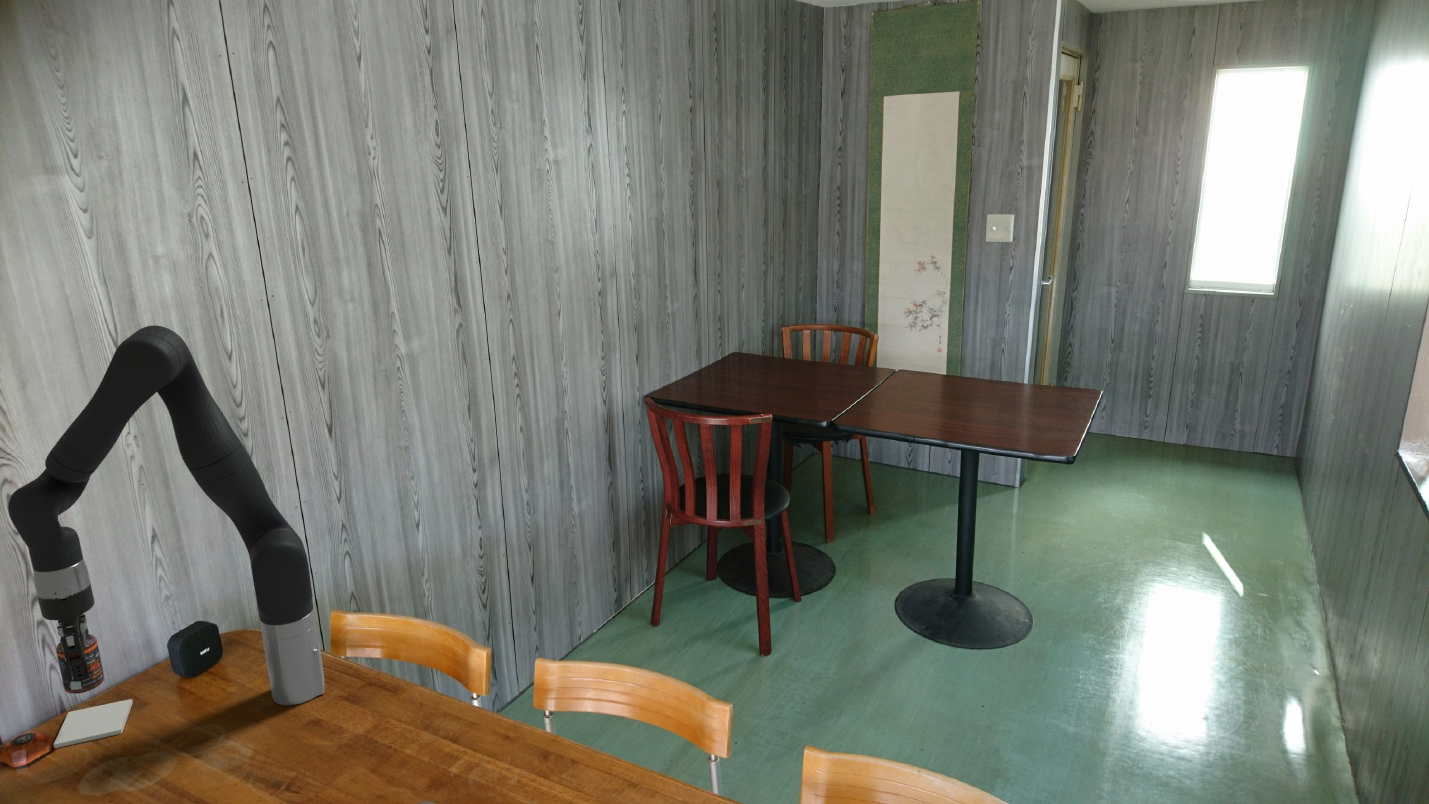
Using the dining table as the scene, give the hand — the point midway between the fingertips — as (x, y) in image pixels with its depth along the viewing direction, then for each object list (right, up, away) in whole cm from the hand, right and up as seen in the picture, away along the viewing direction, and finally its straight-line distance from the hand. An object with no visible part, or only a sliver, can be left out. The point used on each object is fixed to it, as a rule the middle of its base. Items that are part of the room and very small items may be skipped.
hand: (82, 670), depth 153 cm
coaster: (0, -11, +3) cm, 11 cm away
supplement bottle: (0, -3, +1) cm, 3 cm away
